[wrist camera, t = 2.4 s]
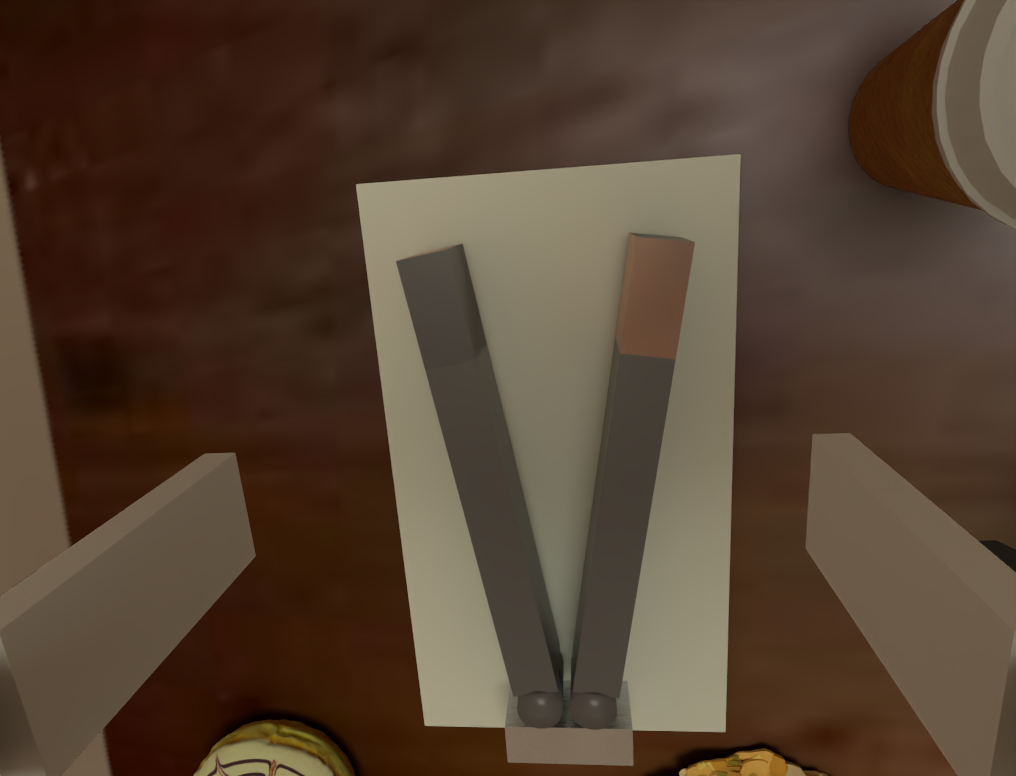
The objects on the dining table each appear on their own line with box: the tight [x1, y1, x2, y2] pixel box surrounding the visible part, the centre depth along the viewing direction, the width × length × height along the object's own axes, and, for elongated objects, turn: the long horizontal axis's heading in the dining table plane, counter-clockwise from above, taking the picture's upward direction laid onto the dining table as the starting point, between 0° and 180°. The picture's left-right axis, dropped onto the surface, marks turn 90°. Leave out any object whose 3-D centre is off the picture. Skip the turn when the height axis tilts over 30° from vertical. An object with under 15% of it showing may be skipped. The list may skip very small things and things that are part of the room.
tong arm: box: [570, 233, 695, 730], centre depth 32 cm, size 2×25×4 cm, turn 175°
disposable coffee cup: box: [849, 0, 1016, 229], centre depth 23 cm, size 10×10×12 cm
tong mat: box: [356, 154, 741, 732], centre depth 35 cm, size 18×32×1 cm, turn 4°
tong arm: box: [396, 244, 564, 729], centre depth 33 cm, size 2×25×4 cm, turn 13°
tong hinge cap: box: [505, 680, 633, 766], centre depth 37 cm, size 7×2×4 cm, turn 94°
